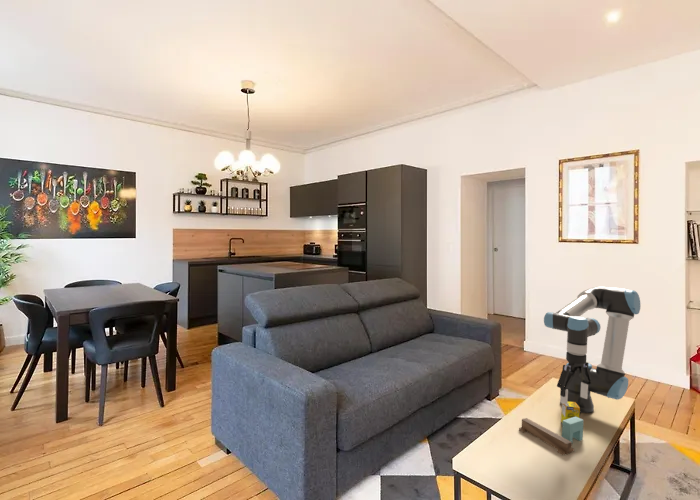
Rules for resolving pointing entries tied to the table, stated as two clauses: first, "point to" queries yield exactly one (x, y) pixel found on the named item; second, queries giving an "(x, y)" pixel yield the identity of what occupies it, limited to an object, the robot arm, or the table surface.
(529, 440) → the table surface
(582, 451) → the table surface
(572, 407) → the supplement box
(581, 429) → the slotted block
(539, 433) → the rail
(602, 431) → the table surface
